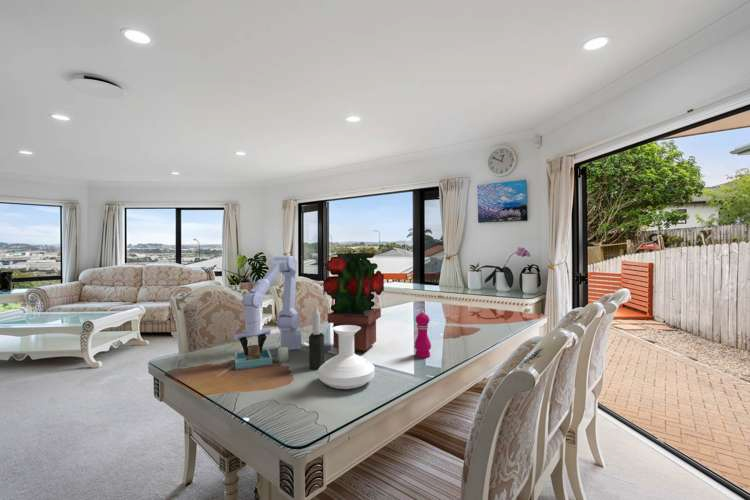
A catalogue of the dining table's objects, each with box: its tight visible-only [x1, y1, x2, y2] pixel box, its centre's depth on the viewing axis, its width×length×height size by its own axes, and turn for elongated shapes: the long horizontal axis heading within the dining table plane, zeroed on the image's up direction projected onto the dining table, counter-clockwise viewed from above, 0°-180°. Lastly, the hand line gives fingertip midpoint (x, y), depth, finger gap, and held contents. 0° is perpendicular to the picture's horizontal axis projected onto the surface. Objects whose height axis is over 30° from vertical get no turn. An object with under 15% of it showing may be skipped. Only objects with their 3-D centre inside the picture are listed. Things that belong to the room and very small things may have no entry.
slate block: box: [265, 346, 276, 356], centre depth 158 cm, size 4×4×3 cm
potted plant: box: [322, 252, 385, 354], centre depth 166 cm, size 22×22×45 cm
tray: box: [234, 348, 273, 371], centre depth 147 cm, size 14×14×3 cm
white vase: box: [317, 325, 376, 390], centre depth 124 cm, size 20×20×19 cm
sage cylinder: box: [277, 347, 289, 363], centre depth 150 cm, size 4×4×5 cm
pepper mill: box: [414, 309, 432, 359], centre depth 153 cm, size 7×7×20 cm
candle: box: [308, 304, 325, 371], centre depth 140 cm, size 5×5×25 cm
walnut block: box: [246, 344, 260, 361], centre depth 147 cm, size 4×4×6 cm
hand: (252, 353), depth 147 cm, fingers open, 5 cm apart
